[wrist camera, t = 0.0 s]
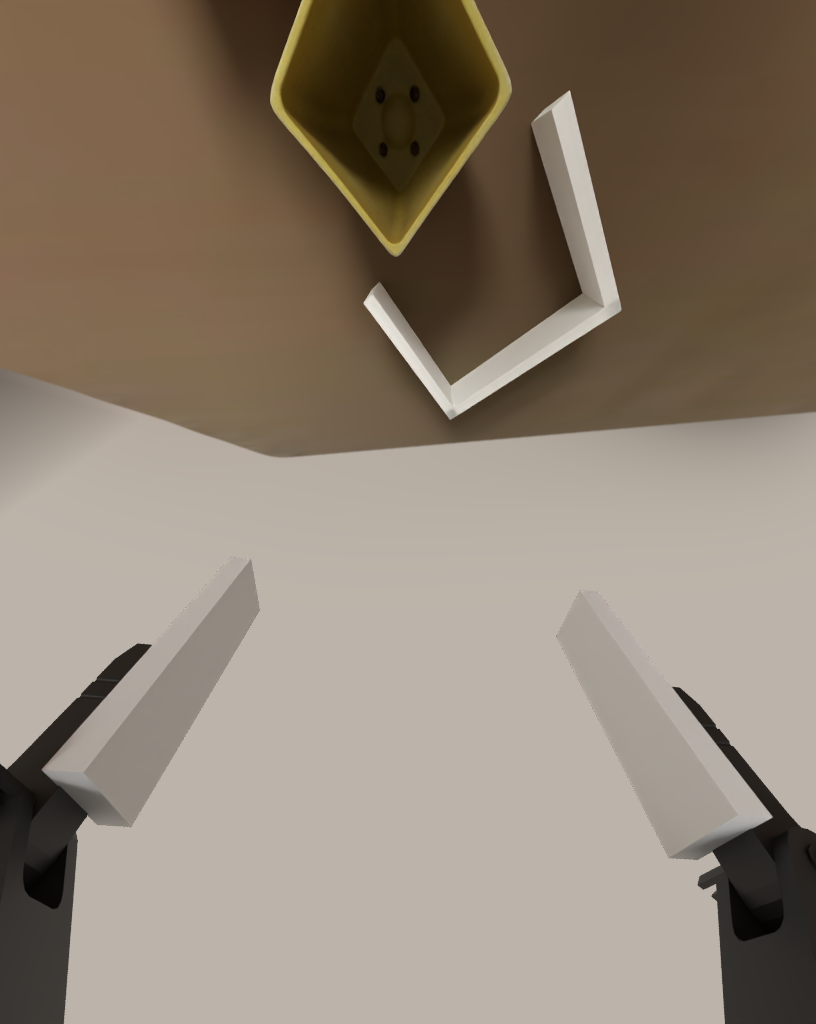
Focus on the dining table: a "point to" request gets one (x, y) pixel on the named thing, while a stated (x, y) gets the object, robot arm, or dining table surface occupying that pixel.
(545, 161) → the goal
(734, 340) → the dining table surface
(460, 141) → the flower pot
